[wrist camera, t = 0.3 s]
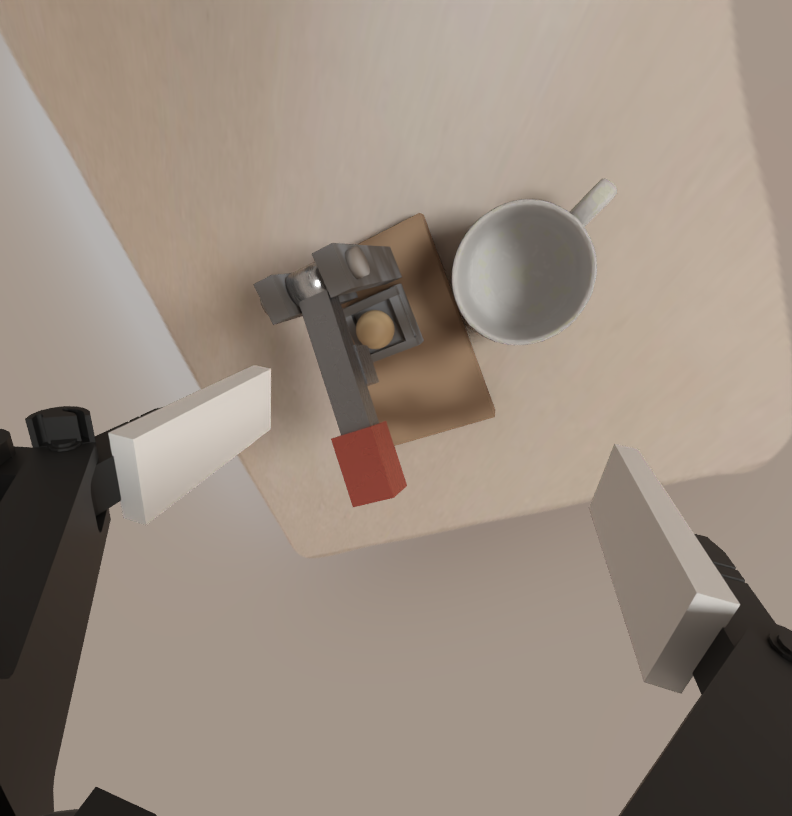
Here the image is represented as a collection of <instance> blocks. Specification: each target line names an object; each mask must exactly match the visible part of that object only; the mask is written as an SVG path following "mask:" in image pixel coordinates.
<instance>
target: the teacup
mask: <svg viewBox="0 0 792 816" xmlns="http://www.w3.org/2000/svg"><path fill="white" fill-rule="evenodd" d="M616 194H617V188H616V186H615V185H614V184H613V183H612V182H611V181H610V180H608V179H601V180H600V181H599V182H598V183H597V184H596V185H595V186H594V187H593V188H592V189H591V190H590V191H589V192H588V193H587V194H586V195H585V196H584V197H583V198H582V200H581V201H580V202H579V203H578V204H577V205H576V206H575V207H574V208H573V209H572V210H571V211H570V212H568V211H567V210H565V209H563V208H561V207H560V206H557V205H555V204H553V203H550V202H547V201H542V200H536V199H522V200H516V201H512V202H508V203H505V204H503V205H500V206H498V207H496V208H494V209H493V210H491V211H489V212H488V213H486V214H485V215H483V216H482V217H481V218H480V219H479V220H477V221H476V222H475V223H474V224H473V225H472V226H471V228H470V229H469V230H468V232H467V233H466V234H465V236H464V238H463V239H462V241H461V243H460V245H459V247H458V249H457V252H456V255H455V258H454V262H453V268H452V289H453V294H454V297H455V301H456V303H457V305H458V308H459V310H460V312H461V314H462V315H463V317H464V318H465V320H466V321H467V322H468V324H469V325H470V326H471V327H472V328H473V329H475V330H476V331H477V332H478V333H480V334H481V335H483V336H484V337H486V338H488V339H490V340H492V341H494V342H498V343H502V344H508V345H528V344H533V343H538V342H541V341H544V340H546V339H549V338H551V337H553V336H555V335H557V334H558V333H559V332H561V331H563V330H564V329H566V328H567V327H568V326H570V325H571V323H572V322H573V321H574V320H576V318H577V316H578V315H579V314H580V313H581V312H582V311H583V309H584V308H585V306H586V304H587V303H588V301H589V299H590V297H591V294H592V292H593V288H594V283H595V279H596V273H597V264H596V253H595V249H594V246H593V243H592V241H591V238H590V237H589V235H588V233H587V231H586V230H585V228H584V226H586V225H587V224H588V223H589V222H590V221H591V220H592V219H593V218H594V217H595V216H596V215H597V214H598V213H599V212H600V211H601V210H602V209H603V208H604V207H605V206H606V205H607V204H608V203H609V202H610V201H611V200H612V199H613V198H614V197H615V195H616Z"/></svg>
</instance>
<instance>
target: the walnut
mask: <svg viewBox="0 0 792 816" xmlns="http://www.w3.org/2000/svg"><path fill="white" fill-rule="evenodd" d="M356 334H357V337H358V339H359V341H360V342H361V343H362V344H363V345H367V346H368V348H371V349H380V348H383V347H385V346H387V345H388V344H389V343H390V342H391V340H392V338H393V336H394V324H393V321H392V319H391V318H390V317H389V316H388V315H387V314H386V313H384V312H382V311H379V310H371V311H368V312H366V313H364V314H363V315H362V316H361V317H360V318H359V320H358V322H357V325H356Z"/></svg>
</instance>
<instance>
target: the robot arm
mask: <svg viewBox="0 0 792 816" xmlns="http://www.w3.org/2000/svg"><path fill="white" fill-rule="evenodd" d="M25 420H26V424H27V427H28V431H29V435H30V439H31V442H32V446H33V448H29V447H14V446H13V443H12V439H11V436H10V433H9V432H8V431H6V430H4V429H0V816H156V814H154V813H152V812H150V811H147V810H145V809H143V808H141V807H139V806H137V805H134V804H132V803H130V802H128V801H126V800H124V799H121V798H119V797H117V796H115V795H113V794H111V793H109V792H106V791H104V790H102V789H100V788H98V787H95V789H94V790H93V791H92V793H91V794H90V795H89V796H88V798H87V799H86V800H85V802H84V803H83V804H82V806H81V807H80V808H79V809H74V810H66V811H57V812H54V801H53V785H54V776H55V769H56V765H57V760H58V756H59V751H60V747H61V742H62V738H63V733H64V728H65V724H66V719H67V715H68V710H69V705H70V701H71V697H72V692H73V688H74V683H75V678H76V674H77V669H78V665H79V660H80V655H81V651H82V647H83V642H84V637H85V633H86V629H87V623H88V620H89V615H90V610H91V606H92V601H93V597H94V592H95V588H96V583H97V578H98V574H99V570H100V565H101V560H102V556H103V551H104V547H105V542H106V537H107V533H108V529H109V523H110V520H111V519H110V514H109V508H110V507H112V506H113V505H115V504H116V503H118V502H119V501H120V502H121V507H122V512H123V518H125V519H129V520H131V521H135V522H138V523H141V524H145V525H147V524H148V523H149V522H151V521H152V520H154V519H155V518H156V517H157V516H159V515H160V514H161V513H163V512H164V511H165V510H166V509H168V508H169V507H170V506H172V505H173V504H174V503H175V502H177V501H178V500H179V499H181V498H182V497H183V496H185V495H186V494H187V493H188V492H190V491H191V490H192V489H194V488H195V487H196V486H198V485H199V484H200V483H202V482H203V481H204V480H205V479H207V478H208V477H209V476H211V475H212V474H213V473H214V472H216V471H217V470H218V469H219V468H221V467H222V466H224V465H225V464H226V463H227V462H229V461H230V460H231V459H233V458H234V457H235V456H237V455H238V454H239V453H240V452H242V451H243V450H244V449H246V448H247V447H248V446H250V445H251V444H252V443H253V442H255V441H256V440H257V439H259V438H260V437H261V436H262V435H264V434H265V433H266V432H268V431H269V430H270V429H271V369H270V368H266V367H261V366H256V365H253V366H251V367H249V368H246V369H244V370H242V371H240V372H238V373H236V374H233V375H231V376H229V377H227V378H225V379H223V380H221V381H218V382H216V383H214V384H212V385H210V386H208V387H206V388H203V389H201V390H199V391H197V392H195V393H193V394H190V395H188V396H186V397H185V398H182V399H180V400H178V401H176V402H173V403H171V404H169V405H167V406H165V407H161V408H157V409H154V410H152V411H149V412H147V413H145V414H143V415H141V417H136V418H134V419H132V420H130V422H125V423H123V424H121V425H119V426H117V427H114V428H112V429H110V430H108V431H106V432H104V433H102V434H99V435H97V436H94V432H93V426H92V421H91V416H90V411H88V410H87V409H85V408H81V407H70V406H64V407H55V408H49V409H46V410H41V411H38V412H36V413H33V414H31V415H30V416H28V417H27V418H26V419H25ZM589 510H590V513H591V516H592V520H593V523H594V526H595V529H596V532H597V535H598V538H599V542H600V545H601V548H602V551H603V554H604V557H605V560H606V564H607V567H608V570H609V573H610V576H611V579H612V583H613V586H614V588H615V592H616V595H617V598H618V602H619V605H620V607H621V611H622V614H623V617H624V620H625V624H626V627H627V630H628V633H629V636H630V639H631V642H632V645H633V649H634V652H635V655H636V658H637V661H638V664H639V668H640V671H641V674H642V677H643V680H644V682H646V683H649V684H652V685H655V686H658V687H662V688H665V689H668V690H671V691H674V692H678V693H682V692H683V690H684V689H685V687H686V685H687V684H688V683H689V681H690V680H691V678H692V677H693V676H694V678H695V680H696V683H697V685H698V687H699V690H700V692H701V694H702V695H701V697H700V698H699V699H698V701H697V702H696V704H695V705H694V706H693V708H692V710H691V711H690V712H689V714H688V715H687V717H686V718H685V719H684V721H683V722H682V724H681V725H680V727H679V728H678V730H677V731H676V733H675V734H674V736H673V737H672V739H671V740H670V742H669V743H668V744H667V746H666V748H665V749H664V751H663V752H662V753H661V755H660V756H659V758H658V759H657V761H656V762H655V764H654V765H653V766H652V768H651V769H650V771H649V772H648V774H647V775H646V777H645V778H644V780H643V781H642V783H641V784H640V785H639V787H638V788H637V790H636V791H635V793H634V794H633V796H632V797H631V798H630V800H629V801H628V803H627V804H626V806H625V807H624V809H623V810H622V812H621V813H620V815H619V816H792V631H791V630H789V629H787V628H785V627H783V626H780V625H777V624H776V623H775V622H774V620H773V619H772V618H771V616H770V615H769V613H768V612H767V611H766V609H765V608H764V606H763V605H762V604H761V602H760V601H759V599H758V598H757V597H756V595H755V594H754V592H753V591H752V590H751V588H750V587H749V585H748V584H747V583H745V580H744V578H743V577H742V576H741V574H740V573H739V571H738V570H735V568H736V567H735V566H734V564H733V563H732V562H731V560H730V559H729V557H728V556H727V555H726V553H725V552H724V551H723V550H722V549H720V548H719V547H718V546H717V545H716V544H715V543H713V542H712V541H711V540H710V539H709V538H708V537H705V536H701V535H697V534H694V533H693V532H692V530H691V529H690V527H689V526H688V524H687V523H686V521H685V519H684V518H683V517H682V515H681V513H680V512H679V510H678V509H677V507H676V506H675V504H674V503H673V501H672V500H671V498H670V497H669V495H668V494H667V492H666V491H665V489H664V487H663V486H662V484H661V483H660V481H659V480H658V478H657V477H656V475H655V474H654V472H653V471H652V469H651V468H650V466H649V465H648V463H647V462H646V460H645V458H644V457H643V455H642V454H641V452H640V451H639V449H636V448H632V447H627V446H623V445H618V444H614V446H613V449H612V451H611V454H610V456H609V459H608V462H607V464H606V467H605V469H604V472H603V474H602V477H601V479H600V482H599V484H598V487H597V489H596V492H595V494H594V497H593V499H592V502H591V504H590V507H589Z"/></svg>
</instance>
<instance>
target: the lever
mask: <svg viewBox="0 0 792 816" xmlns="http://www.w3.org/2000/svg"><path fill="white" fill-rule="evenodd" d="M286 283H287V288H288V291H289V293H290V295H291V297H292V299H293V300H294V301H295V303H296V304H297V305H298V306H299V307H300V309H301V312H302V315H303V318H304V321H305V324H306V327H307V330H308V333H309V337H310V340H311V343H312V346H313V349H314V352H315V355H316V358H317V361H318V365H319V368H320V371H321V374H322V377H323V380H324V383H325V386H326V389H327V393H328V396H329V399H330V402H331V405H332V408H333V411H334V414H335V417H336V420H337V424H338V427H339V430H340V433H341V436H338V437H335V438H332V439H331V440H332V443H333V446H334V449H335V453H336V456H337V459H338V462H339V465H340V468H341V471H342V474H343V477H344V481H345V484H346V487H347V490H348V493H349V496H350V499H351V502H352V505H353V507H356V506H360V505H365V504H369V503H373V502H377V501H382V500H386V499H390V498H394V497H395V496H396V495H397V494H398V493H399V492H401V491H402V490H403V489H404V488H405V487H406V486H407V484H406V481H405V478H404V475H403V472H402V469H401V465H400V462H399V459H398V456H397V453H396V450H395V447H394V444H393V441H392V438H391V434H390V431H389V428H388V425H387V422H386V421H384V422H381V423H379V421H378V418H377V414H376V411H375V408H374V405H373V402H372V399H371V396H370V393H369V390H368V387H367V386H370V385H373V384H376V383H378V382H379V379H378V376H377V373H376V370H375V367H374V364H373V361H372V358H371V355H370V352H369V348H368V346H367V345H357V344H355V345H354V343H353V340H352V337H351V334H350V331H349V328H348V325H347V321H346V318H345V315H344V312H343V309H342V306H341V303H340V300H339V297H338V296H336V297H332V298H331V296H330V294H329V292H328V290H327V287H326V285H325V283H324V281H323V278H322V276H321V274H320V272H319V269H318V267H317V265H316V263H315V262H314V263H312V264H310V265H308V266H306V267H304V268H302V269H300V270H298V271H296V272H294V273H292V274H290V275H288V277H287V280H286Z"/></svg>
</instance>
